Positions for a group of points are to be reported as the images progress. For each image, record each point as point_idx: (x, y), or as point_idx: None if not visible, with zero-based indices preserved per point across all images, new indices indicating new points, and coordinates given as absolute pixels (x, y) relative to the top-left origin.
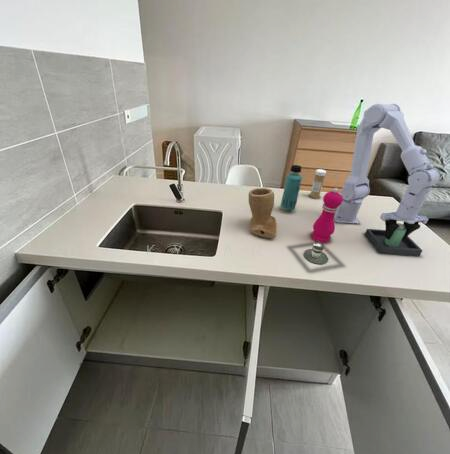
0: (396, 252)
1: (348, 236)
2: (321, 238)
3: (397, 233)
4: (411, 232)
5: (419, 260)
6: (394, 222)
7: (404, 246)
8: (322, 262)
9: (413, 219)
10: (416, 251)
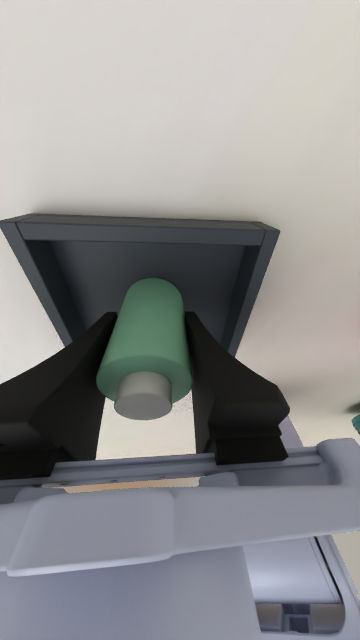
0: (173, 221)
1: (298, 330)
2: None
3: (170, 335)
4: (61, 352)
5: (36, 160)
6: (234, 432)
7: (96, 288)
8: None
9: (25, 599)
10: (45, 219)
